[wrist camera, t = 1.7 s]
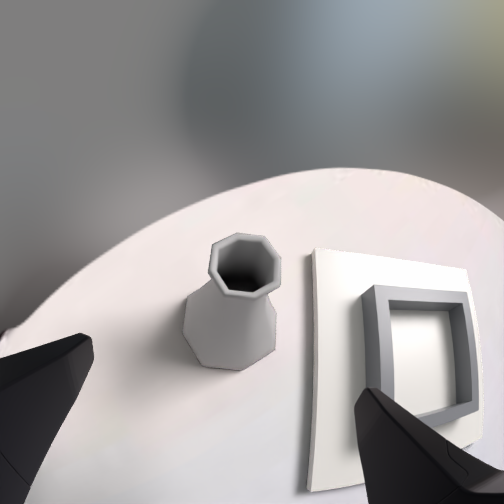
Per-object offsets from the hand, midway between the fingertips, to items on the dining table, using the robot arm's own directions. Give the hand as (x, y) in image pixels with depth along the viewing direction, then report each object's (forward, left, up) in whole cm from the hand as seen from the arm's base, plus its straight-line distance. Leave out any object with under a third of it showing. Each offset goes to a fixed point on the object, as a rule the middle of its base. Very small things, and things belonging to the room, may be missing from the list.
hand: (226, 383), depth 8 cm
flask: (+5, 0, -12) cm, 13 cm away
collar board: (+2, -17, -12) cm, 21 cm away
